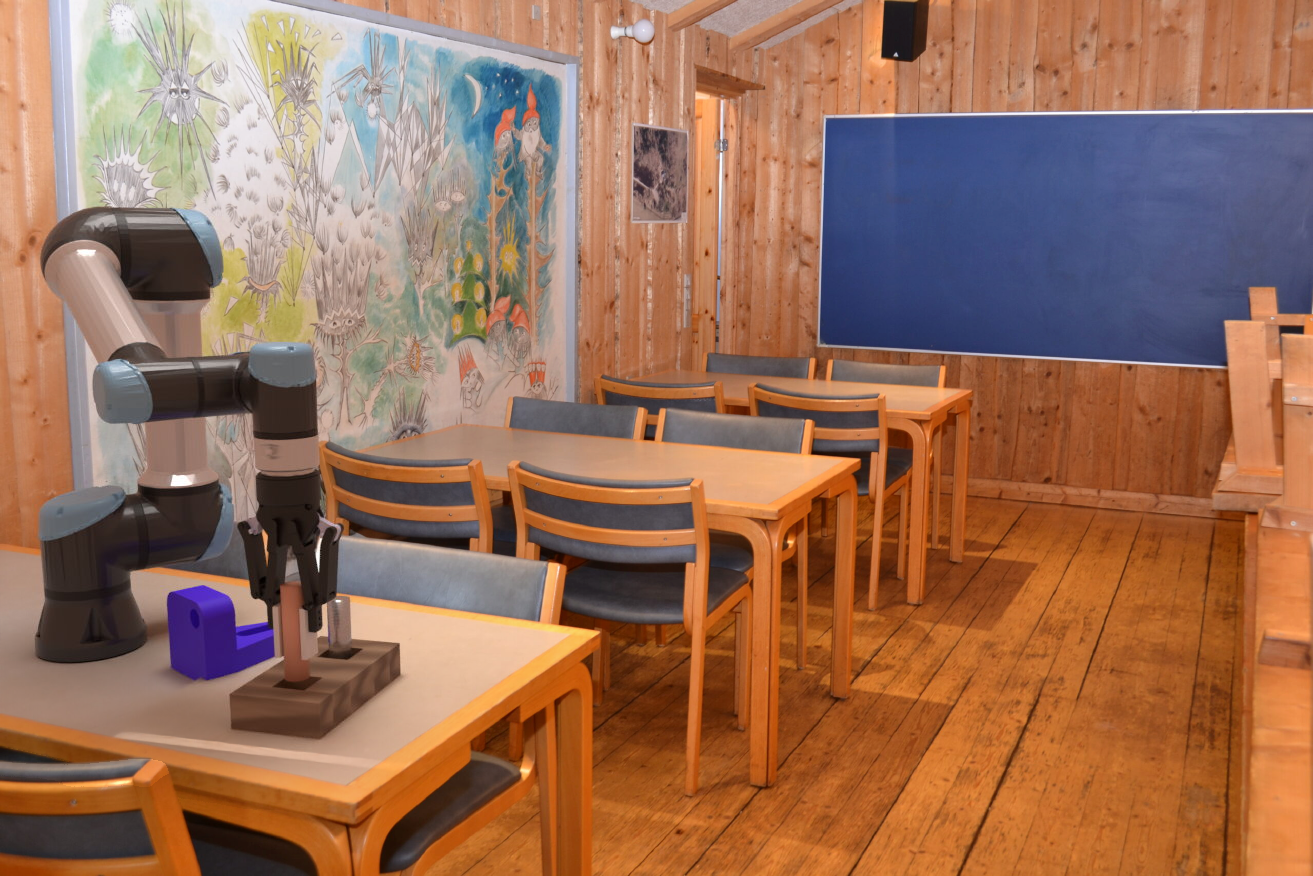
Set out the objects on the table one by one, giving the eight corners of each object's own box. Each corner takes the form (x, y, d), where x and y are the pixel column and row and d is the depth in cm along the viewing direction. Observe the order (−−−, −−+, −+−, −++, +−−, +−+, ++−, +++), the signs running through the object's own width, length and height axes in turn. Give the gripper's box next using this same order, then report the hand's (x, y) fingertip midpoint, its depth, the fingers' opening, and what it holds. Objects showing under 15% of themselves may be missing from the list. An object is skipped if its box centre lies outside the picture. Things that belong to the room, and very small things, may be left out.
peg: (280, 680, 144) (275, 587, 142) (292, 672, 147) (288, 580, 145) (301, 682, 144) (297, 588, 142) (314, 674, 147) (310, 582, 145)
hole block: (320, 746, 140) (318, 703, 139) (231, 736, 143) (229, 694, 142) (400, 681, 161) (399, 643, 160) (322, 673, 164) (320, 636, 163)
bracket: (207, 688, 158) (202, 605, 157) (171, 668, 166) (165, 588, 164) (324, 655, 172) (321, 578, 170) (286, 638, 179) (282, 564, 177)
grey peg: (326, 687, 156) (322, 601, 154) (337, 679, 159) (333, 594, 157) (346, 689, 155) (343, 603, 153) (357, 681, 158) (354, 596, 156)
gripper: (210, 472, 140) (221, 660, 143) (332, 479, 136) (340, 671, 140) (246, 461, 147) (255, 640, 151) (362, 467, 143) (369, 650, 147)
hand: (296, 654), depth 145 cm, fingers closed on peg, 3 cm apart
